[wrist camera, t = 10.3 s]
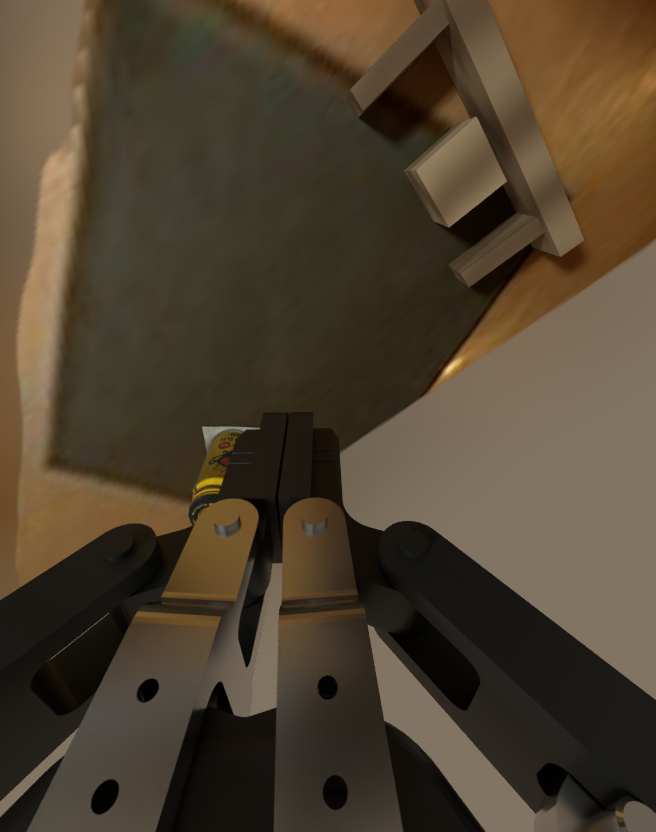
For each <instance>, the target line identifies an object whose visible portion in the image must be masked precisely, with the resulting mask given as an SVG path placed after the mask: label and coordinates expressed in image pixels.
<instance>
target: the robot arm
mask: <svg viewBox="0 0 656 832" xmlns="http://www.w3.org/2000/svg"><path fill="white" fill-rule="evenodd" d="M282 562H283V565H282V566H283V568H282V605H281V606H280V610H279V627H278V668H277V669H278V670H277V708H274V709H271V710H268V711H265V712H262V713H259V714H256V715H253V716H250V709H251V700H252V678H253V671H254V666H255V661H256V656H257V651H258V646H259V642H260V637H261V632H262V627H263V622H264V617H265V612H266V608H267V602H268V598H269V591H270V589H269V583H270V577H271V569H272V563H282ZM108 613H109V614H108ZM107 614H108V615H107ZM105 615H107V616H105ZM104 616H105V617H104ZM103 617H104V618H103ZM101 618H103V619H102V620H100V619H101ZM99 620H100V621H99ZM98 621H99V622H98ZM96 622H98V623H97V624H95V623H96ZM94 624H95V625H94ZM93 625H94V626H93ZM367 625H370V626H373V627H374V628H375V631H376V632H377V634H378V635H379V637H380V638H381V639H382V640H383V641H384V642H385V643H386V645H387V646H388V647H389V648H390V649H391V650H392V652H393V653H394V654H395V655H396V656H397V657H398V658H399V659H400V661H402V663H403V664H404V665H405V666H406V667H407V669H408V670H409V671H410V672H411V673H412V674H413V675H414V676H415V678H416V679H417V680H418V681H419V682H420V683H421V684H422V686H423V687H424V688H425V689H426V690H427V691H428V692H429V693H430V695H431V696H432V697H433V698H434V699H435V700H436V701H437V703H438V704H439V705H440V706H441V707H442V708H443V709H444V710H445V712H446V713H447V714H448V715H449V716H450V717H451V718H452V719H453V721H454V722H455V723H456V724H457V725H458V726H459V727H460V729H461V730H462V731H463V732H464V733H465V734H466V735H467V737H469V739H470V740H471V741H472V742H473V743H474V744H475V746H476V747H477V748H478V749H479V750H480V751H481V752H482V754H483V755H484V756H485V757H486V758H487V759H488V760H489V761H490V763H491V764H492V765H493V766H494V767H495V768H496V769H497V770H498V772H499V773H500V774H501V775H502V776H503V777H504V778H505V780H506V781H507V782H508V783H509V784H510V785H511V786H512V788H513V789H514V790H515V791H516V792H517V793H518V794H519V795H520V797H521V798H522V799H523V800H524V801H525V802H526V803H527V804H528V806H529V807H530V808H531V809H532V810H533V811H534V812H535V814H536V817H535V821H534V832H656V700H655V699H654V698H652V697H651V696H650V695H648V694H647V693H646V692H644V691H643V690H642V689H641V688H639V687H638V686H637V685H635V684H634V683H633V682H631V681H630V680H629V679H627V678H626V677H625V676H624V675H622V674H621V673H620V672H618V671H617V670H616V669H614V668H613V667H612V666H610V665H609V664H608V663H607V662H605V661H604V660H603V659H601V658H600V657H599V656H598V655H596V654H595V653H594V652H592V651H591V650H590V649H588V648H587V647H586V646H585V645H583V644H582V643H581V642H579V641H578V640H577V639H575V638H574V637H573V636H572V635H570V634H569V633H567V632H566V631H565V630H564V629H562V628H561V627H560V626H559V625H557V624H556V623H555V622H553V621H552V620H551V619H549V618H548V617H547V616H546V615H544V614H543V613H542V612H540V611H539V610H538V609H536V608H535V607H534V606H532V605H531V604H530V603H529V602H527V601H526V600H525V599H523V598H522V597H521V596H519V595H518V594H517V593H515V592H514V591H513V590H512V589H510V588H509V587H508V586H506V585H505V584H504V583H502V582H501V581H500V580H498V579H497V578H496V577H495V576H493V575H492V574H491V573H489V572H488V571H487V570H486V569H484V568H483V567H482V566H480V565H479V564H478V563H476V562H475V561H474V560H472V559H471V558H470V557H469V556H467V555H466V554H465V553H463V552H462V551H461V550H459V549H458V548H457V547H455V546H454V545H453V544H452V543H450V542H449V541H448V540H447V539H445V538H444V537H443V536H441V535H440V534H439V533H437V532H436V531H435V530H433V529H432V528H430V527H429V526H427V525H425V524H422V523H419V522H414V521H402V522H397V523H395V524H392V525H391V526H389V527H388V528H387V529H386V530H385V531H381V530H377V529H374V528H370V527H367V526H364V525H362V524H360V523H358V522H356V521H355V520H354V519H353V518H351V517H350V516H349V514H348V513H347V512H346V510H345V508H344V506H343V501H342V484H341V467H340V452H339V438H338V437H337V436H336V434H335V433H334V432H333V430H332V429H331V428H316V429H314V412H290V414H289V413H264V414H263V417H262V422H261V426H260V429H246V430H245V431H244V432H243V433H242V434H241V435H240V436H239V437H238V438H237V439H236V441H235V444H234V448H233V451H232V455H231V457H230V460H229V465H228V466H227V469H226V472H225V475H224V478H223V482H222V485H221V488H220V491H219V494H218V497H217V500H216V503H214V504H212V505H210V506H209V507H207V508H206V509H205V510H204V511H203V512H202V513H201V514H200V515H199V517H198V519H197V521H196V523H195V525H193V526H191V527H188V528H186V529H183V530H179V531H176V532H172V533H168V534H165V535H161V536H157V537H156V534H155V532H154V531H153V530H152V529H151V528H150V527H149V526H146V525H144V524H126V525H122V526H119V527H116V528H114V529H111V530H109V531H108V532H106V533H104V534H103V535H101V536H100V537H98V538H96V539H95V540H93V541H92V542H90V543H89V544H87V545H86V546H84V547H82V548H81V549H79V550H78V551H76V552H75V553H73V554H72V555H70V556H68V557H67V558H65V559H64V560H62V561H61V562H59V563H58V564H56V565H54V566H53V567H51V568H50V569H48V570H47V571H45V572H44V573H42V574H40V575H39V576H37V577H36V578H34V579H33V580H31V581H30V582H28V583H26V584H25V585H23V586H22V587H20V588H19V589H17V590H16V591H14V592H12V593H11V594H9V595H8V596H6V597H5V598H3V599H2V600H0V801H1V800H2V799H3V798H4V797H5V796H6V795H7V794H8V793H9V792H10V791H12V790H13V789H14V788H15V787H16V786H17V785H18V784H19V783H20V782H21V781H22V780H23V779H24V778H25V777H26V776H27V775H28V774H30V773H31V772H32V771H33V770H34V769H35V768H36V767H37V766H38V765H39V764H40V763H41V762H42V761H43V760H44V759H45V758H46V757H48V756H49V755H50V754H51V753H52V752H53V751H54V750H55V749H56V748H57V747H58V746H59V745H60V744H61V743H62V742H63V741H65V740H66V738H68V737H69V736H70V735H71V734H72V733H73V732H74V731H75V730H76V729H77V728H78V727H79V728H78V730H77V732H76V734H75V736H74V738H73V740H72V742H71V744H70V746H69V748H68V750H67V752H66V754H65V755H64V756H63V757H62V758H61V759H59V760H58V761H57V762H56V763H55V764H54V765H52V766H51V767H50V768H49V769H48V770H47V771H46V772H45V773H44V774H43V775H42V776H41V777H40V778H39V779H38V780H37V781H36V782H35V783H34V784H33V785H32V786H31V787H30V788H29V789H28V790H27V791H26V792H25V793H24V794H23V795H22V796H21V797H20V798H19V799H18V800H17V801H16V802H15V803H14V804H13V805H12V806H11V807H10V808H9V809H8V810H7V811H6V812H5V813H4V814H3V815H2V816H1V817H0V832H485V830H484V829H483V828H482V827H481V825H480V824H479V822H478V821H477V820H476V818H475V817H474V816H473V814H472V813H471V811H470V810H469V809H468V808H467V806H466V805H465V803H464V802H463V801H462V799H461V798H460V797H459V796H458V794H457V793H456V791H455V790H454V789H453V787H452V786H451V785H450V783H449V782H448V780H447V779H446V778H445V776H444V775H443V774H442V772H441V771H440V770H439V768H438V767H437V766H436V765H435V763H434V762H433V761H432V759H431V758H430V757H429V756H428V755H427V754H426V753H425V752H424V751H423V750H422V749H421V748H420V746H419V745H418V744H416V743H415V742H414V741H413V740H412V739H410V738H409V737H408V736H407V735H406V734H405V733H403V732H402V731H400V730H399V729H397V728H396V727H394V726H393V725H391V724H390V723H387V722H385V721H384V719H383V712H382V706H381V700H380V695H379V689H378V683H377V677H376V672H375V666H374V660H373V654H372V649H371V643H370V638H369V632H368V626H367ZM91 626H93V627H91ZM90 627H91V628H90ZM89 628H90V629H89ZM88 629H89V630H88ZM86 630H88V631H86ZM85 631H86V632H85ZM84 632H85V633H84ZM82 633H84V634H83V635H81V634H82ZM80 635H81V636H80ZM79 636H80V637H79ZM77 637H79V638H78V639H76V638H77ZM75 639H76V640H75ZM74 640H75V641H74ZM72 641H74V642H73V643H71V642H72ZM70 643H71V644H70ZM68 644H70V645H69V646H68V647H66V646H67V645H68ZM65 647H66V648H65ZM63 648H65V649H64V650H62V649H63ZM61 650H62V651H61ZM59 651H61V652H60V653H59V654H57V653H58V652H59ZM56 654H57V655H56ZM55 655H56V656H55ZM53 656H55V657H54V658H52V657H53ZM51 658H52V659H51ZM50 659H51V660H50ZM48 660H49V661H48ZM47 661H48V662H47Z"/></svg>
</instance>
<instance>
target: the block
mask: <svg viewBox="0 0 656 832" xmlns="http://www.w3.org/2000/svg"><path fill="white" fill-rule="evenodd" d="M404 172H405V173H406V175H407V177H408V178H409V180H410V182H411V184H412V185H413V187H414V189H415V190H416V192H417V194H418V195H419V197H420V199H421V201H422V202H423V204H424V206H425V207H426V209H427V211H428V212H429V214H430V216H431V218H432V219H433V221H434V222H436V223H439V224H441V225H444V226H446V227H450V226H452V225H453V224H454V223H455V222H457V221H458V220H459V219H460V218H462V217H463V216H464V215H465V214H467V213H468V212H469V211H470V210H472V209H473V208H474V207H475V206H477V205H478V204H479V203H480V202H482V201H483V200H484V199H485V198H487V197H488V196H489V195H490V194H492V193H493V192H494V191H495V190H497V189H498V188H499V187H500V186H502V185H503V184H504V183H505V182H507V180H506V178H505V176H504V174H503V172H502V170H501V168H500V165H499V163H498V161H497V159H496V157H495V155H494V153H493V150H492V148H491V146H490V144H489V142H488V140H487V138H486V135H485V133H484V131H483V129H482V127H481V125H480V123H479V121H478V118H477V116H476V117H474V118H471V119H469V120H466V121H464V122H461V123H458V124H456V125H455V126H454V127H452V128H451V129H450V130H449V131H448V132H447V133H446V134H445V135H443V136H442V137H441V138H440V139H439V140H438V141H437V142H436V143H435V144H433V145H432V146H431V147H430V148H429V149H428V150H427V151H426V152H425V153H423V154H422V155H421V156H420V157H419V158H418V159H417V160H416V161H415V162H413V163H412V164H411V165H410V166H409V167H408V168H407V169H406V170H405V171H404Z"/></svg>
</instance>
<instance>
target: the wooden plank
mask: <svg viewBox="0 0 656 832" xmlns="http://www.w3.org/2000/svg"><path fill="white" fill-rule="evenodd" d="M414 2H415V4H416V6H417V8H418V10H419V12H420V14H421V16H420V17H419V18H418V19H417V20H416V21H415V22H414V23H413V24H412V25H411V26H410V27H409V28H408V29H407V30H406V31H405V33H404V34H403V35H402V36H401V37H400V38H399V39H398V40H397V41H396V42H395V43H394V44H393V45H392V46H391V47H390V48H389V49H388V50H387V51H386V53H385V54H384V55H383V56H382V57H381V58H380V59H379V60H378V61H377V62H376V63H375V64H374V65H373V66H372V67H371V68H370V69H369V70H368V71H367V73H366V74H365V75H364V76H363V77H362V78H361V79H360V80H359V81H358V82H357V83H356V84H355V85H354V86H353V87H352V88H351V89H350V92H349V95H348V98H347V100H348V102H349V103H350V105H351V107H352V108H353V110H354V111H355V113H356V115H357V116H358V118H359V117H360V116H361V115H362V114H363V113H364V112H365V111H366V110H367V109H368V108H369V107H370V106H371V105H372V104H373V103H374V102H375V101H376V100H377V99H378V98H379V97H380V96H381V95H382V94H383V93H384V92H385V91H386V90H387V89H388V88H389V87H390V86H391V85H392V84H393V83H394V82H395V81H396V80H397V79H398V78H399V77H400V76H401V75H402V74H403V73H404V72H405V71H406V70H407V69H408V68H409V67H410V66H411V65H412V64H413V63H414V62H415V61H416V60H417V59H418V57H419V56H420V55H421V54H422V53H423V52H424V51H425V50H426V49H427V48H428V47H429V46H430V45H431V44H432V43H433V42H434V44H435V46H436V48H437V50H438V52H439V54H440V56H441V58H442V60H443V62H444V64H445V66H446V69H447V71H448V73H449V75H450V77H451V79H452V81H453V83H454V85H455V87H456V89H457V91H458V94H459V96H460V98H461V100H462V102H463V104H464V106H465V108H466V110H467V112H468V114H469V116H470V119H471V118H474V117H476V116H477V118H478V121H479V123H480V125H481V127H482V129H483V131H484V133H485V135H486V138H487V140H488V142H489V144H490V146H491V148H492V150H493V153H494V155H495V157H496V159H497V161H498V163H499V165H500V168H501V170H502V172H503V174H504V176H505V178H506V180H507V182H505V183H504V184H503V187H504V189H505V192H506V194H507V196H508V198H509V200H510V202H511V204H512V206H513V208H514V210H515V212H516V213H515V214H514V215H512V216H511V217H510V218H509V219H507V220H506V221H505V222H503V223H502V224H501V225H499V226H498V227H497V228H495V229H494V230H493V231H492V232H490V233H489V234H488V235H486V236H485V237H484V238H482V239H481V240H480V241H479V242H477V243H476V244H475V245H473V246H472V247H471V248H469V249H468V250H467V251H465V252H464V253H463V254H462V255H460V256H459V257H458V258H456V259H455V260H454V261H452V262H451V263H450V264H449V265H448V266H449V267H450V269H451V271H452V272H453V274H454V276H455V277H456V278H457V279H458V280H460V281H461V282H462V283H464V284H465V285H466V286H468V287H470V286H472V285H473V284H474V283H476V282H477V281H479V280H480V279H481V278H483V277H484V276H485V275H487V274H488V273H489V272H491V271H492V270H494V269H495V268H496V267H498V266H499V265H500V264H502V263H503V262H505V261H506V260H507V259H509V258H510V257H511V256H513V255H514V254H516V253H517V252H518V251H520V250H521V249H522V248H524V247H525V246H527V245H528V244H529V243H530V244H531V246H532V247H533V248H535V249H538V250H541V251H544V252H547V253H550V254H553V255H556V256H559V257H561V256H563V255H564V254H566V253H567V252H569V251H570V250H571V249H573V248H574V247H576V246H577V245H579V244H580V243H582V242H583V241H584V238H583V236H582V233H581V231H580V228H579V226H578V223H577V221H576V218H575V216H574V213H573V211H572V208H571V206H570V203H569V201H568V199H567V196H566V194H565V191H564V189H563V186H562V184H561V181H560V179H559V176H558V174H557V171H556V169H555V166H554V164H553V162H552V159H551V157H550V154H549V152H548V149H547V147H546V144H545V142H544V139H543V137H542V134H541V132H540V129H539V127H538V124H537V122H536V120H535V117H534V115H533V112H532V110H531V107H530V105H529V102H528V100H527V97H526V95H525V92H524V90H523V87H522V85H521V82H520V80H519V78H518V75H517V73H516V70H515V68H514V65H513V63H512V60H511V58H510V55H509V53H508V50H507V48H506V45H505V43H504V40H503V38H502V36H501V33H500V31H499V28H498V26H497V23H496V21H495V18H494V16H493V13H492V11H491V8H490V6H489V3H488V1H487V0H414Z"/></svg>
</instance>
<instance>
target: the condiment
mask: <svg viewBox="0 0 656 832" xmlns="http://www.w3.org/2000/svg"><path fill="white" fill-rule="evenodd" d="M202 428H203V434H204V439H205V444H206V451H207V456H206V459H205V461H204V464H203V466H202V468H201V471H200V474H199V476H198V479H197V481H196V483H195V486H194V488H193V500H192V504H191V506H190V508H189V518H190V522H191V523H192V525H195V523H196V521H197V519H198V517H199V515H200V514H201V513H202V512H203V511H204V510H205V509H206V508H207V507H209V506H210V505H212V504H214V503H216V500H217V497H218V494H219V491H220V488H221V485H222V482H223V478H224V475H225V472H226V469H227V466H228V465H229V460H230V457H231V455H232V451H233V448H234V444H235V441H236V439H237V438H238V437H239V436H240V435H241V434H242V433H243V432H244V431H245V430H246V429H260V428H252V427H250V428H248V427H203V426H202Z"/></svg>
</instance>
